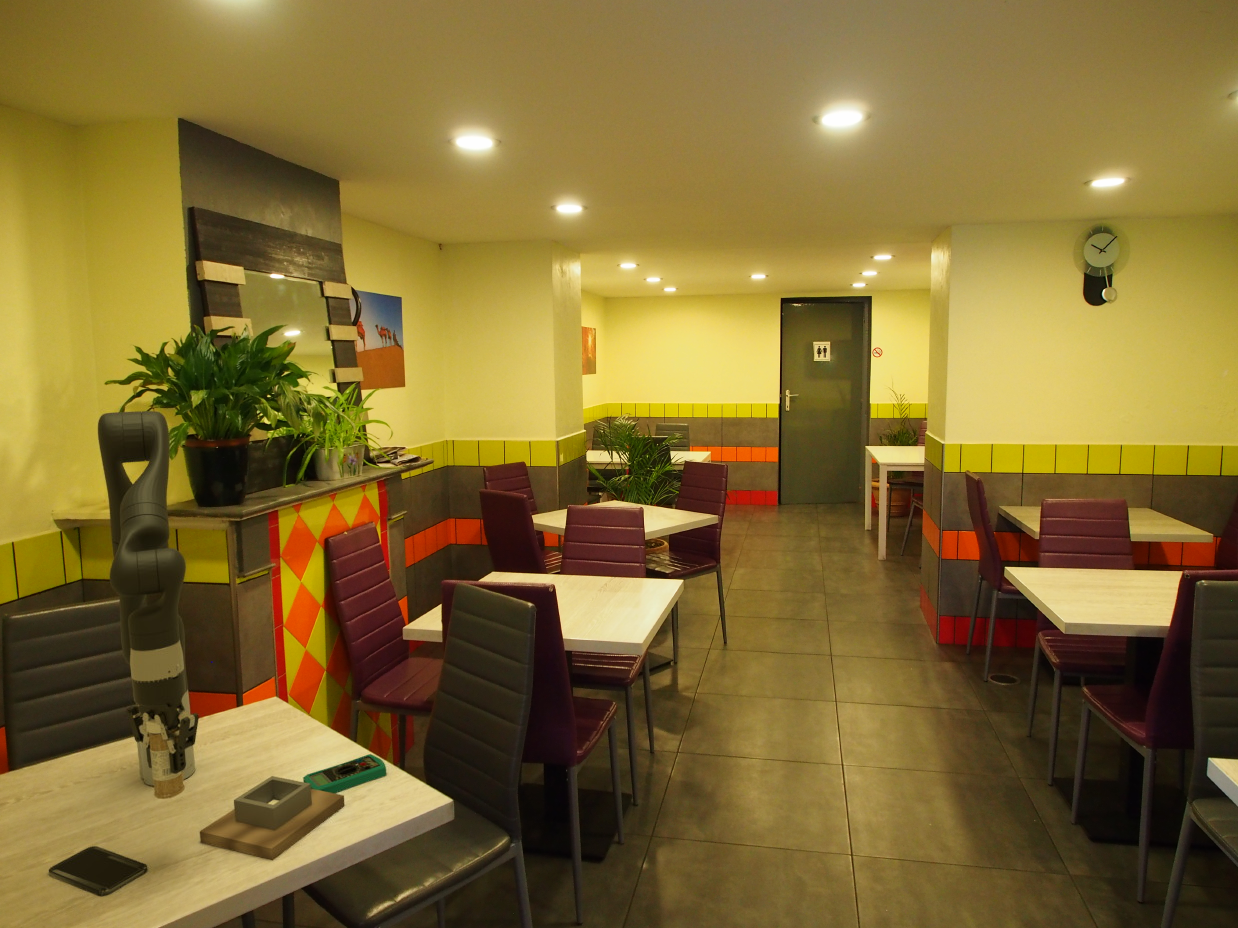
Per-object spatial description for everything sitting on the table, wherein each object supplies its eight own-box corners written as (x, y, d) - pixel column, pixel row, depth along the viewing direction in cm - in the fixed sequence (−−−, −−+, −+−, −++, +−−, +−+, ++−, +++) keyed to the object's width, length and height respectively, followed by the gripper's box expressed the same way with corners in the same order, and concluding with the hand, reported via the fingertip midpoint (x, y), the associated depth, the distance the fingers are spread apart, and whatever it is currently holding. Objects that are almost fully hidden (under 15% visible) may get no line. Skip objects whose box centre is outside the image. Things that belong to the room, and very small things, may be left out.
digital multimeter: (389, 776, 165) (388, 762, 165) (315, 802, 156) (314, 787, 156) (374, 763, 171) (373, 750, 171) (302, 788, 162) (301, 773, 161)
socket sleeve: (235, 821, 146) (233, 799, 145) (273, 795, 154) (271, 775, 154) (275, 830, 142) (273, 808, 142) (311, 804, 151) (310, 783, 150)
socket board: (200, 841, 143) (199, 829, 143) (277, 791, 160) (276, 780, 159) (272, 859, 137) (271, 847, 137) (344, 805, 154) (343, 794, 154)
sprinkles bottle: (185, 783, 140) (178, 708, 138) (184, 795, 136) (177, 718, 134) (154, 789, 138) (147, 713, 137) (152, 802, 134) (144, 724, 132)
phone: (103, 893, 128) (45, 869, 135) (104, 899, 129) (46, 875, 135) (150, 865, 135) (93, 844, 142) (151, 871, 136) (94, 850, 142)
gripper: (105, 673, 134) (115, 772, 136) (170, 684, 128) (179, 787, 131) (146, 657, 140) (155, 751, 143) (209, 667, 135) (218, 765, 138)
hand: (167, 768), depth 137 cm, fingers closed on sprinkles bottle, 4 cm apart
